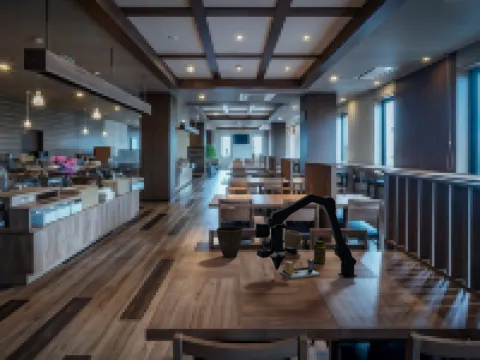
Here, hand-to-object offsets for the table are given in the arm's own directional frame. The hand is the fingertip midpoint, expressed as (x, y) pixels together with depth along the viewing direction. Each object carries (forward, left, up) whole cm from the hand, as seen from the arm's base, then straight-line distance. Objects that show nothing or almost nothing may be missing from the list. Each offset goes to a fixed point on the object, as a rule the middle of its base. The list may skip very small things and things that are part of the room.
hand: (276, 269), depth 205 cm
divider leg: (+1, -7, -2) cm, 7 cm away
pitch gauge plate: (0, -13, -4) cm, 13 cm away
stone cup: (+34, -27, -4) cm, 43 cm away
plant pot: (+47, +5, -4) cm, 47 cm away
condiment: (+14, -33, -4) cm, 36 cm away
